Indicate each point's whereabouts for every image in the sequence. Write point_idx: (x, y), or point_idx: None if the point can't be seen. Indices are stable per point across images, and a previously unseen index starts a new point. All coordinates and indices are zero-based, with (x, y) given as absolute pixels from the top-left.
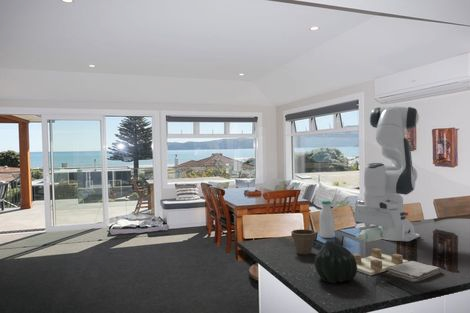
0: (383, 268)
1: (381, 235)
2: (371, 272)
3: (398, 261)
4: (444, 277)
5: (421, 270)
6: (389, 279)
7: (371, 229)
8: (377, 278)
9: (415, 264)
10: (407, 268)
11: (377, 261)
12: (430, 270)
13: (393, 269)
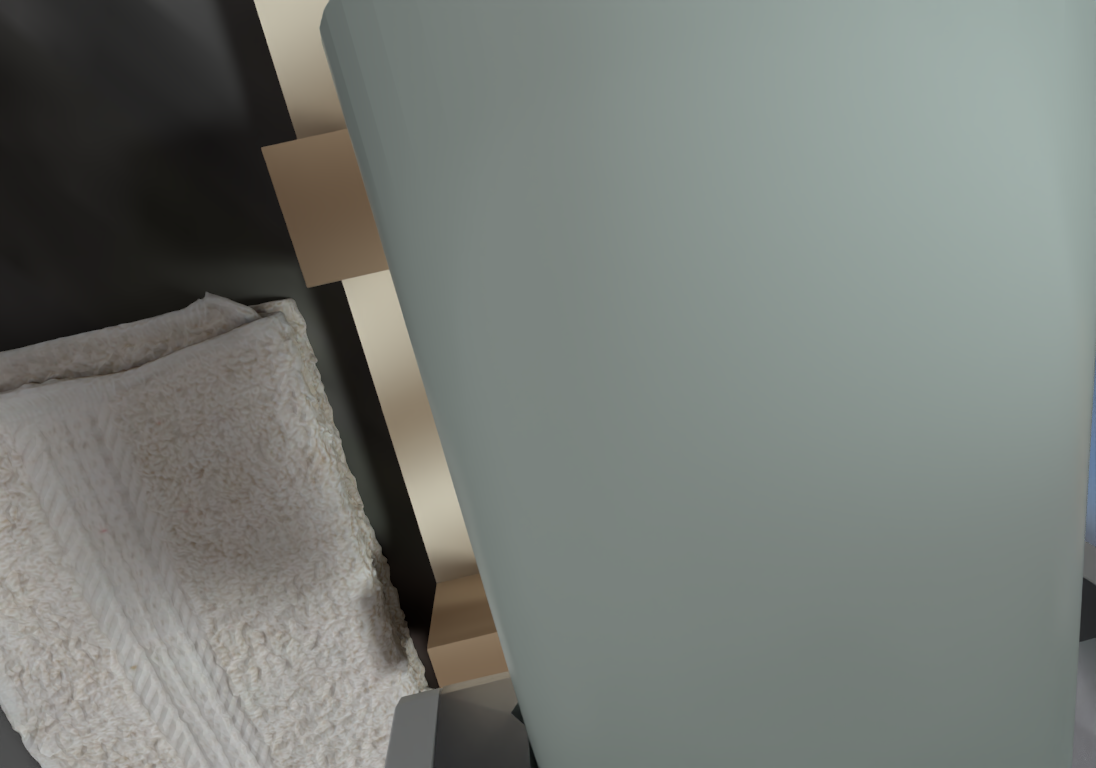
0: (349, 302)
1: (472, 712)
2: (260, 16)
3: (436, 609)
4: (9, 759)
5: (42, 633)
6: (62, 156)
7: (747, 515)
8: (134, 17)
9: (267, 709)
10: (162, 537)
11: (320, 205)
12: (11, 718)
13: (181, 348)
